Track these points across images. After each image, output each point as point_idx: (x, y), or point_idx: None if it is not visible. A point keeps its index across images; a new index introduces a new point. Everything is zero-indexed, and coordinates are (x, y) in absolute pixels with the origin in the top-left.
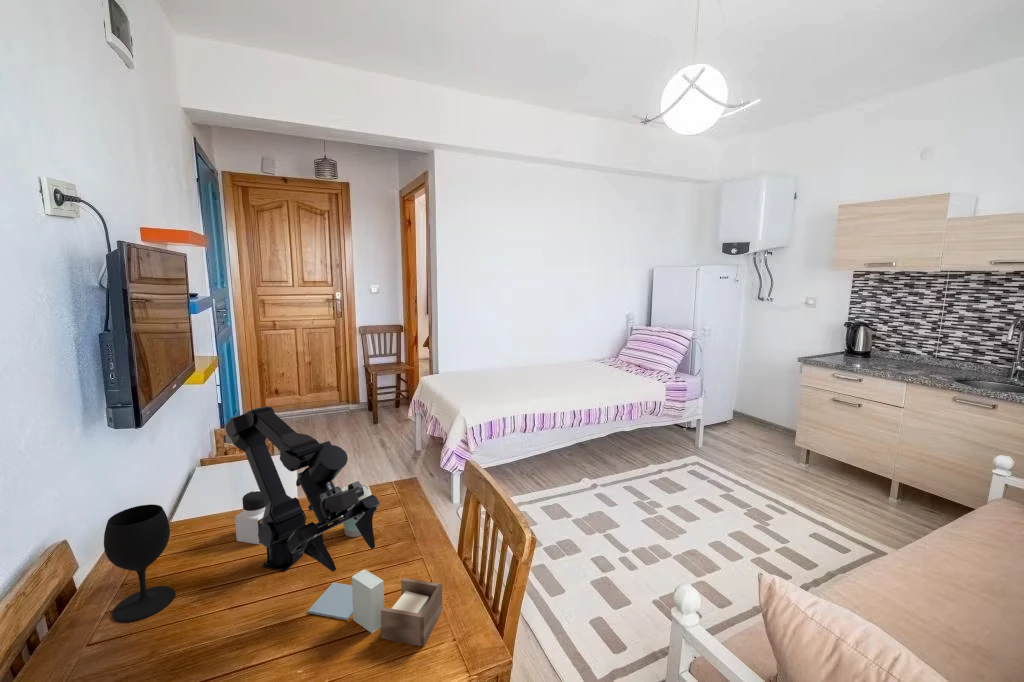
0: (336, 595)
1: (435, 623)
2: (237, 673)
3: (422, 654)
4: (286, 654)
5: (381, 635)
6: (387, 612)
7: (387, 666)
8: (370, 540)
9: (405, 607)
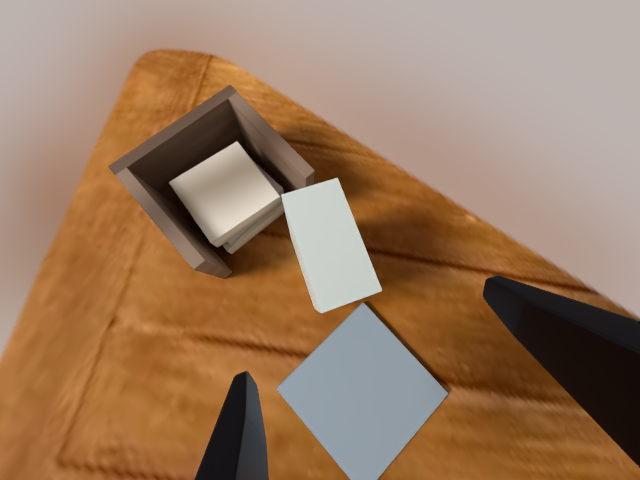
0: (368, 415)
1: None
2: (581, 281)
3: None
4: None
5: None
6: (300, 157)
7: (326, 137)
8: (247, 420)
9: (243, 181)
